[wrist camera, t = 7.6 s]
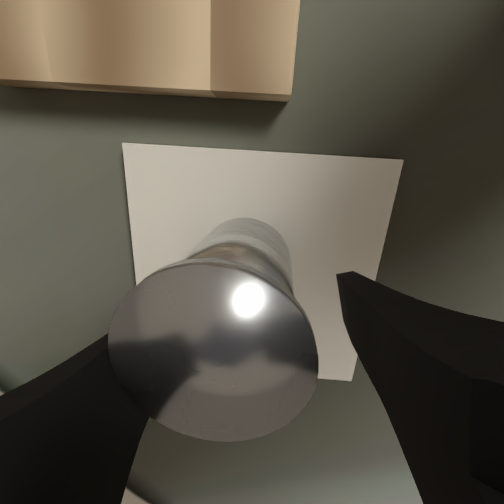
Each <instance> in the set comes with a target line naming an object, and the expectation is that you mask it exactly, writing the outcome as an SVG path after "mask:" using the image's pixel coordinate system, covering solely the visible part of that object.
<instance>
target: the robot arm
mask: <svg viewBox="0 0 504 504" xmlns="http://www.w3.org/2000/svg"><path fill="white" fill-rule="evenodd" d="M336 278H337V284H338V290H339V297H340V303H341V310H342V316H343V321H344V324H345V327H346V330H347V332H348V335H349V338H350V340H351V343H352V345H353V347H354V349H355V351H356V353H357V355H358V357H359V358H360V360H361V362H362V364H363V366H364V368H365V370H366V372H367V374H368V376H369V377H370V379H371V381H372V383H373V385H374V387H375V389H376V391H377V393H378V395H379V396H380V398H381V401H382V403H383V405H384V407H385V409H386V411H387V414H388V416H389V418H390V421H391V423H392V426H393V428H394V431H395V433H396V435H397V438H398V440H399V443H400V445H401V448H402V450H403V453H404V455H405V458H406V460H407V463H408V465H409V468H410V470H411V473H412V475H413V478H414V480H415V483H416V486H417V488H418V491H419V493H420V496H421V499H422V501H423V504H504V322H501V321H495V320H491V319H486V318H482V317H477V316H473V315H468V314H464V313H460V312H457V311H453V310H449V309H446V308H443V307H439V306H436V305H433V304H429V303H426V302H423V301H421V300H418V299H415V298H413V297H410V296H407V295H405V294H402V293H400V292H397V291H395V290H393V289H390V288H388V287H386V286H384V285H382V284H380V283H377V282H375V281H373V280H371V279H369V278H367V277H365V276H363V275H361V274H359V273H357V272H354V271H350V272H345V273H339V274H336ZM108 334H109V333H108ZM108 334H106V335H105V336H103V337H102V338H100V339H99V340H97V341H96V342H94V343H93V344H91V345H90V346H88V347H87V348H85V349H83V350H82V351H80V352H79V353H77V354H76V355H74V356H73V357H71V358H69V359H68V360H66V361H65V362H63V363H61V364H60V365H58V366H56V367H54V368H53V369H51V370H49V371H47V372H46V373H44V374H42V375H40V376H38V377H37V378H35V379H33V380H31V381H29V382H27V383H25V384H23V385H21V386H19V387H17V388H15V389H13V390H11V391H9V392H7V393H5V394H3V395H1V396H0V504H121V501H122V498H123V494H124V490H125V487H126V483H127V480H128V476H129V473H130V470H131V467H132V463H133V460H134V457H135V454H136V451H137V447H138V444H139V441H140V439H141V436H142V433H143V431H144V428H145V426H146V424H147V421H148V419H149V416H148V415H147V414H146V413H145V412H144V411H142V410H141V409H140V408H139V407H138V406H137V405H136V404H135V403H134V402H133V401H132V400H131V399H130V397H129V396H128V395H127V394H126V392H125V391H124V390H123V388H122V386H121V385H120V383H119V381H118V380H117V377H116V375H115V373H114V371H113V368H112V365H111V361H110V357H109V350H108Z"/></svg>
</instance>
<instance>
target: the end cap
mask: <svg viewBox="0 0 504 504" xmlns="http://www.w3.org/2000/svg"><path fill="white" fill-rule="evenodd" d="M108 350H109V357H110V361H111V365H112V368H113V371H114V373H115V375H116V377H117V380H118V381H119V383H120V385H121V386H122V388H123V390H124V391H125V392H126V394H127V395H128V396H129V397H130V399H131V400H132V401H133V402H134V403H135V404H136V405H137V406H138V407H139V408H140V409H141V410H142V411H144V412H145V413H146V414H147V415H148V416H150V417H151V418H153V419H154V420H156V421H157V422H159V423H160V424H162V425H164V426H166V427H168V428H170V429H172V430H174V431H176V432H179V433H181V434H184V435H187V436H190V437H194V438H198V439H202V440H209V441H217V442H236V441H245V440H251V439H255V438H259V437H263V436H265V435H268V434H270V433H273V432H275V431H277V430H278V429H280V428H282V427H284V426H285V425H287V424H288V423H289V422H291V421H292V420H293V419H294V418H295V417H296V416H297V415H298V414H300V413H301V411H302V410H303V409H304V407H305V406H306V405H307V404H308V402H309V400H310V398H311V396H312V394H313V392H314V389H315V386H316V383H317V378H318V372H319V359H318V352H317V346H316V341H315V336H314V332H313V329H312V326H311V323H310V321H309V319H308V317H307V315H306V313H305V311H304V310H303V308H302V307H301V305H300V304H299V302H298V301H297V300H296V299H295V297H294V287H293V277H292V268H291V258H290V252H289V249H288V246H287V244H286V242H285V240H284V239H283V237H282V236H281V235H280V234H279V232H278V231H276V230H275V229H274V228H273V227H271V226H270V225H269V224H267V223H265V222H263V221H260V220H257V219H253V218H235V219H231V220H228V221H225V222H223V223H221V224H220V225H218V226H217V227H215V228H214V229H213V230H212V231H211V232H210V233H209V234H208V235H207V236H206V237H205V238H204V239H203V240H202V242H201V243H200V244H199V245H198V246H197V247H196V248H195V249H194V250H193V251H192V252H191V253H190V254H189V255H188V256H187V257H186V258H185V259H184V260H181V261H178V262H175V263H172V264H168V265H166V266H164V267H162V268H160V269H158V270H156V271H154V272H153V273H151V274H150V275H148V276H147V277H146V278H145V279H143V280H142V281H141V282H140V283H139V284H138V285H137V286H136V287H134V288H133V289H132V290H131V291H130V292H129V293H128V294H127V295H126V296H125V298H124V299H123V300H122V301H121V303H120V304H119V306H118V308H117V309H116V311H115V313H114V315H113V318H112V321H111V324H110V329H109V334H108Z"/></svg>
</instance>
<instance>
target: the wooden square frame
mask: <svg viewBox="0 0 504 504" xmlns="http://www.w3.org/2000/svg"><path fill="white" fill-rule="evenodd" d="M299 8H300V0H0V84H2V85H6V86H11V87H29V88H47V89H65V90H83V91H101V92H119V93H137V94H155V95H174V96H192V97H210V98H228V99H246V100H264V101H282V102H288V101H289V99H290V97H291V93H292V82H293V72H294V61H295V50H296V40H297V29H298V18H299Z"/></svg>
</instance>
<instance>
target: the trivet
mask: <svg viewBox="0 0 504 504" xmlns="http://www.w3.org/2000/svg"><path fill="white" fill-rule="evenodd" d="M122 148H123V157H124V167H125V177H126V187H127V197H128V207H129V217H130V227H131V237H132V247H133V257H134V267H135V277H136V286H137V285H138V284H139V283H140V282H141V281H142V280H143V279H145V278H146V277H147V276H148V275H150V274H151V273H153V272H154V271H156V270H158V269H160V268H162V267H164V266H166V265H168V264H172V263H175V262H178V261H181V260H184V259H185V258H186V257H187V256H188V255H189V254H190V253H191V252H192V251H193V250H194V249H195V248H196V247H197V246H198V245H199V244H200V243H201V242H202V240H203V239H204V238H205V237H206V236H207V235H208V234H209V233H210V232H211V231H212V230H213V229H214V228H215V227H217V226H218V225H220V224H221V223H223V222H225V221H228V220H231V219H235V218H253V219H257V220H260V221H263V222H265V223H267V224H269V225H270V226H271V227H273V228H274V229H275V230H276V231H278V232H279V234H280V235H281V236H282V237H283V239H284V240H285V242H286V244H287V246H288V249H289V252H290V258H291V268H292V277H293V287H294V297H295V299H296V300H297V301H298V302H299V304H300V305H301V307H302V308H303V310H304V311H305V313H306V315H307V317H308V319H309V321H310V323H311V326H312V329H313V332H314V336H315V341H316V346H317V352H318V359H319V372H318V378H320V379H332V380H344V381H352V377H353V373H354V369H355V364H356V360H357V356H358V355H357V353H356V351H355V349H354V347H353V345H352V343H351V340H350V338H349V335H348V332H347V330H346V327H345V324H344V321H343V316H342V310H341V303H340V297H339V290H338V284H337V278H336V274H339V273H345V272H350V271H354V272H357V273H359V274H361V275H363V276H365V277H367V278H369V279H371V280H373V281H375V280H376V276H377V271H378V267H379V263H380V259H381V254H382V250H383V246H384V242H385V237H386V233H387V229H388V225H389V221H390V216H391V212H392V208H393V204H394V199H395V195H396V191H397V187H398V183H399V178H400V174H401V170H402V166H403V161H404V160H400V159H383V158H367V157H350V156H333V155H317V154H300V153H284V152H267V151H250V150H234V149H217V148H201V147H184V146H168V145H151V144H134V143H122Z"/></svg>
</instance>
